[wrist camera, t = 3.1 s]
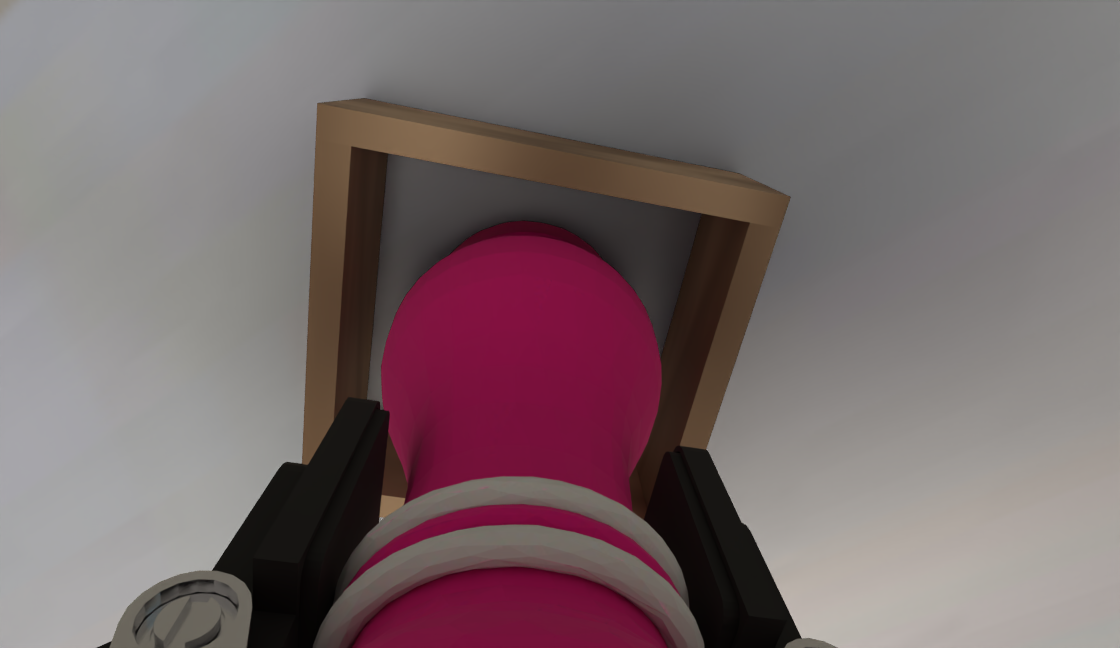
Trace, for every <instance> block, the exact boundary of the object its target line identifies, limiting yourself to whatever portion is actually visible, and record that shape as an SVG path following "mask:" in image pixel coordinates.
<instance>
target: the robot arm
mask: <svg viewBox="0 0 1120 648" xmlns="http://www.w3.org/2000/svg"><path fill="white" fill-rule="evenodd" d="M389 419H390V412H389V411H387V410H380V402H379V401H373V400H366V399H359V398H353V397H348V398H347V399H346V401H345V403H344V404H343V406H342V408H341V409H340V411H339V413H338V414H337V416H336V418H335V420H334V421H333V423H332V425H331V426H330V428H329V430H328V431H327V433H326V435H325V437H324V438H323V440H322V442H321V443H320V445H319V447H318V448H317V450H316V452H315V453H314V455H313V457H312V459H311V460H310V462H309V464H308V465H306V464H299V463H291V462H286V463H284V464H283V465H282V466H281V467H280V468H279V469H278V471H277V472H276V474H275V475H274V477H273V478H272V480H271V482H270V483H269V485H268V486H267V488H266V489H265V491H264V492H263V494H262V495H261V497H260V498H259V500H258V501H257V503H256V504H255V506H254V507H253V509H252V510H251V512H250V513H249V515H248V517H247V518H246V520H245V521H244V523H243V524H242V526H241V527H240V529H239V530H238V532H237V533H236V535H235V536H234V538H233V539H232V541H231V542H230V544H229V545H228V547H227V548H226V550H225V551H224V553H223V555H222V556H221V558H220V559H219V561H218V562H217V564H216V565H215V567H214V568H213V570H212V571H195V572H189V573H184V574H179V575H177V576H174V577H171V578H169V579H166V580H164V581H161V582H159V583H157V584H156V585H154V586H153V587H151V588H149V589H148V590H146V591H145V592H143V593H142V594H141V595H140V596H139V597H137V598H136V599H135V600H134V601H133V602H132V603H131V604H130V605H129V606H128V607H127V609H126V611H125V612H124V614H123V616H122V618H121V619H120V621H119V623H118V626H117V628H116V631H115V634H114V637H113V639H112V641H111V642H109V643H106V644H104V645H102V646H100V647H97V648H313V644H314V642H315V639H316V636H317V634H318V631H319V628H320V626H321V624H322V622H323V621H324V619H325V617H326V616H327V614H328V612H329V610H330V609H331V607H332V606H333V601H334V595H335V590H336V586H337V582H338V579H339V577H340V575H341V572H342V570H343V568H344V566H345V564H346V562H347V561H348V559H349V557H350V556H351V554H352V552H353V551H354V549H355V548H356V547H357V546H358V545H359V543H360V542H361V541H362V540H363V538H364V537H365V536H366V535H367V533H368V532H369V531H371V530H372V529H373V528H374V527H375V526H376V525H377V524H378V523H379V516H380V506H381V497H382V487H383V477H384V468H385V458H386V448H387V438H388V429H389ZM644 521H646V522H647V523H648V524H649V525H650V526H651V527H652V528H653V529H654V530H655V531H656V532H657V533H658V534H659V535H660V536H661V537H662V539H663V540H664V542H665V543H666V545H667V546H668V548H669V549H670V550H671V552H672V553H673V555H674V556H675V558H676V560H677V562H678V564H679V566H680V568H681V570H682V573H683V577H684V580H685V583H686V587H687V590H688V597H689V610H690V611H691V613H692V615H693V616H694V618H695V620H696V623H697V625H698V628H699V631H700V633H701V636H702V638H703V641H704V647H705V648H837V647H835V646H833V645H831V644H828V643H826V642H824V641H820V640H815V639H811V638H803V639H802V638H801V636H800V634H799V632H798V630H797V628H796V625H795V623H794V621H793V619H792V617H791V615H790V613H789V611H788V609H787V607H786V605H785V602H784V600H783V598H782V596H781V594H780V592H779V590H778V588H777V586H776V584H775V582H774V579H773V577H772V575H771V573H770V571H769V569H768V567H767V565H766V563H765V561H764V559H763V557H762V554H761V552H760V550H759V548H758V546H757V544H756V542H755V540H754V538H753V536H752V534H751V532H750V530H749V529H748V527H747V526H746V525H745V524H743V523H741V521H740V518H739V516H738V514H737V512H736V510H735V508H734V506H733V503H732V501H731V499H730V497H729V495H728V493H727V491H726V489H725V486H724V484H723V482H722V480H721V478H720V476H719V474H718V471H717V469H716V467H715V465H714V463H713V461H712V459H711V456H710V454H709V452H708V451H707V450H705V449H699V448H692V447H686V446H679V445H678V446H676V447H675V449H674V451H673V452H668V451H667V452H665V454H664V456H663V459H662V462H661V465H660V468H659V472H658V475H657V478H656V481H655V485H654V488H653V491H652V494H651V498H650V501H649V504H648V508H647V511H646V514H645V517H644Z"/></svg>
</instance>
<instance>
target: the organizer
mask: <svg viewBox="0 0 1120 648" xmlns="http://www.w3.org/2000/svg"><path fill="white" fill-rule="evenodd" d="M388 153H389V154H395V155H400V156H405V157H410V158H416V159H421V160H426V161H431V162H436V163H442V164H447V165H452V166H457V167H462V168H468V169H473V170H478V171H483V172H489V173H494V174H499V175H504V176H509V177H515V178H520V179H525V180H530V181H535V182H541V183H546V184H551V185H556V186H562V187H567V188H572V189H577V190H582V191H588V192H593V193H598V194H603V195H608V196H614V197H619V198H624V199H629V200H635V201H640V202H645V203H650V204H655V205H661V206H666V207H671V208H676V209H681V210H687V211H692V212H697V213H702V215H701V219H700V222H699V226H698V229H697V233H696V236H695V240H694V243H693V247H692V250H691V254H690V257H689V261H688V264H687V268H686V271H685V275H684V278H683V282H682V285H681V289H680V293H679V296H678V300H677V303H676V307H675V310H674V314H673V317H672V321H671V324H670V328H669V331H668V335H667V338H666V342H665V345H664V349H663V352H662V356H661V359H660V360H661V377H662V385H661V392H660V399H659V406H658V412H657V415H656V418H655V421H654V424H653V427H652V430H651V434H650V437H649V440H648V442H647V445H646V447H645V449H644V451H643V453H642V455H641V457H640V459H639V460H638V462H637V464H636V466H635V468H634V470H633V472H632V474H631V476H630V477H629V483H630V492H631V501H632V510H633V513H635V514H636V515H637V516H639V517H640V518H641V519H643V520H644V517H645V514H646V511H647V508H648V504H649V501H650V498H651V494H652V491H653V488H654V485H655V481H656V478H657V475H658V472H659V468H660V465H661V462H662V459H663V456H664V454H665V452H667V451H668V452H673V451H674V449H675V447H676V446H678V445H679V446H686V447H692V448H699V449H705V450H706V448H707V445H708V442H709V439H710V436H711V433H712V430H713V427H714V424H715V421H716V418H717V415H718V412H719V409H720V406H721V403H722V400H723V397H724V394H725V391H726V388H727V385H728V382H729V379H730V376H731V373H732V370H733V367H734V364H735V362H736V359H737V356H738V353H739V350H740V347H741V344H742V341H743V338H744V335H745V332H746V329H747V326H748V323H749V320H750V317H751V314H752V311H753V308H754V305H755V302H756V299H757V296H758V293H759V290H760V287H761V284H762V281H763V278H764V275H765V272H766V269H767V266H768V263H769V260H770V257H771V254H772V251H773V248H774V245H775V242H776V239H777V236H778V233H779V230H780V227H781V224H782V222H783V219H784V216H785V213H786V210H787V207H788V204H789V201H790V198H791V197H790V196H787V195H785V194H783V193H781V192H779V191H777V190H774V189H772V188H770V187H768V186H766V185H763V184H761V183H759V182H757V181H755V180H752V179H750V178H748V177H746V176H744V175H741V174H739V173H734V172H729V171H724V170H719V169H714V168H709V167H704V166H699V165H694V164H689V163H684V162H679V161H674V160H669V159H664V158H659V157H654V156H650V155H645V154H640V153H635V152H630V151H625V150H620V149H615V148H610V147H605V146H600V145H595V144H590V143H585V142H580V141H575V140H570V139H565V138H560V137H555V136H550V135H545V134H540V133H535V132H530V131H525V130H520V129H515V128H510V127H505V126H500V125H495V124H490V123H485V122H480V121H475V120H470V119H465V118H460V117H455V116H450V115H445V114H440V113H435V112H430V111H425V110H420V109H415V108H410V107H405V106H400V105H395V104H390V103H385V102H381V101H376V100H371V99H366V98H361V99H352V100H342V101H333V102H324V103H317V125H316V148H315V172H314V195H313V219H312V242H311V266H310V289H309V313H308V337H307V360H306V384H305V407H304V431H303V454H302V464H306V465H308V464H309V462H310V460H311V459H312V457H313V455H314V453H315V452H316V450H317V448H318V447H319V445H320V443H321V442H322V440H323V438H324V437H325V435H326V433H327V431H328V430H329V428H330V426H331V425H332V423H333V421H334V420H335V418H336V416H337V414H338V413H339V411H340V409H341V408H342V406H343V404H344V403H345V401H346V399H347V398H348V397H353V398H359V399H366V400H367V391H368V379H369V367H370V356H371V344H372V332H373V321H374V309H375V297H376V286H377V274H378V263H379V251H380V239H381V228H382V216H383V204H384V193H385V181H386V169H387V158H388ZM407 488H408V483H407V480H406V476H405V473H404V470H403V466H402V464H401V461H400V459H399V457H398V454H397V452H396V450H395V447H394V445H393V442H392V440H391V437H390V434H389V432H388V438H387V448H386V458H385V468H384V477H383V487H382V497H381V506H380V516H379V517H386V516H388V515H389V514H391V513H393V512H394V511H396V510H397V509H399V508H400V507H402V506H403V505H404V502H405V497H406V493H407Z"/></svg>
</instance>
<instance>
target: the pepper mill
mask: <svg viewBox="0 0 1120 648" xmlns="http://www.w3.org/2000/svg"><path fill="white" fill-rule="evenodd" d="M381 382H382V399H383V407H384V410H387V411H389V412H390V419H389V429H388V432H389V434H390V437H391V440H392V442H393V445H394V447H395V450H396V452H397V454H398V457H399V459H400V461H401V464H402V466H403V470H404V473H405V476H406V480H407V483H408V488H407V493H406V497H405V502H404V505H403V506H402V507H400V508H399V509H397V510H396V511H394V512H393V513H391V514H389V515H388V516H386V517H385V518H384V519H383V520H382V521H381V522H379V523H378V524H377V525H376V526H375V527H374V528H373V529H372V530H371V531H369V532H368V533H367V535H366V536H365V537H364V538H363V540H362V541H361V542H360V543H359V545H358V546H357V547H356V548H355V549H354V551H353V552H352V554H351V556H350V557H349V559H348V561H347V562H346V564H345V566H344V568H343V570H342V572H341V575H340V577H339V579H338V582H337V586H336V590H335V595H334V601H333V606H332V607H331V609H330V610H329V612H328V614H327V616H326V617H325V619H324V621H323V622H322V624H321V626H320V628H319V631H318V634H317V636H316V639H315V642H314V644H313V648H705V647H704V641H703V638H702V636H701V633H700V631H699V628H698V625H697V623H696V620H695V618H694V616H693V615H692V613H691V611H690V610H689V597H688V590H687V587H686V583H685V580H684V577H683V573H682V570H681V568H680V566H679V564H678V562H677V560H676V558H675V556H674V555H673V553H672V552H671V550H670V549H669V548H668V546H667V545H666V543H665V542H664V540H663V539H662V537H661V536H660V535H659V534H658V533H657V532H656V531H655V530H654V529H653V528H652V527H651V526H650V525H649V524H648V523H647V522H646V521H644V520H643V519H641V518H640V517H639V516H637V515H636V514H635V513H633V510H632V501H631V492H630V483H629V477H630V476H631V474H632V472H633V470H634V468H635V466H636V464H637V462H638V460H639V459H640V457H641V455H642V453H643V451H644V449H645V447H646V445H647V442H648V440H649V437H650V434H651V430H652V427H653V424H654V421H655V418H656V415H657V412H658V406H659V399H660V392H661V385H662V377H661V360H660V355H659V350H658V345H657V341H656V337H655V334H654V330H653V326H652V324H651V321H650V319H649V316H648V314H647V311H646V309H645V307H644V305H643V304H642V302H641V300H640V299H639V297H638V296H637V294H636V292H635V291H634V290H633V288H632V287H631V286H630V285H629V284H628V283H627V282H626V280H625V279H624V278H623V277H622V276H621V275H620V274H619V273H618V272H617V271H616V270H615V269H614V268H612V267H611V266H610V265H609V264H608V263H606V262H605V261H603V260H602V258H601V257H600V256H599V254H598V253H597V252H596V251H595V250H594V249H593V248H592V247H591V246H590V245H589V244H587V243H586V242H585V241H583V240H582V239H581V238H579V237H578V236H576V235H574V234H572V233H571V232H569V231H567V230H565V229H563V228H559V227H556V226H552V225H549V224H546V223H539V222H530V221H515V222H507V223H502V224H499V225H496V226H493V227H490V228H487V229H484V230H481V231H480V232H478V233H476V234H474V235H472V236H471V237H469V238H468V239H466V240H465V241H464V242H463V243H462V244H461V245H459V246H458V247H457V248H456V249H455V250H454V251H453V252H452V253H451V254H450V255H449V256H447V257H445V258H443V259H441V260H440V261H439V262H437V263H436V264H435V265H434V266H433V267H432V268H430V269H429V270H428V271H427V272H426V273H425V274H424V275H423V276H422V277H420V278H419V279H418V281H417V282H416V283H415V284H414V286H413V287H412V288H411V289H410V291H409V292H408V293H407V294H406V296H405V298H404V299H403V301H402V303H401V305H400V307H399V309H398V310H397V312H396V315H395V318H394V320H393V323H392V326H391V329H390V332H389V335H388V338H387V341H386V345H385V350H384V355H383V360H382V364H381Z"/></svg>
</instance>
